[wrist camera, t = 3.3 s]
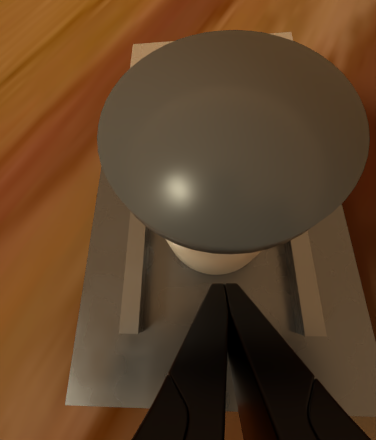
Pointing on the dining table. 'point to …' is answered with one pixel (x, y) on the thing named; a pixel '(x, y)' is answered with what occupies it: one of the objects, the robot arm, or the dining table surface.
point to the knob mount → (193, 297)
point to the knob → (232, 144)
